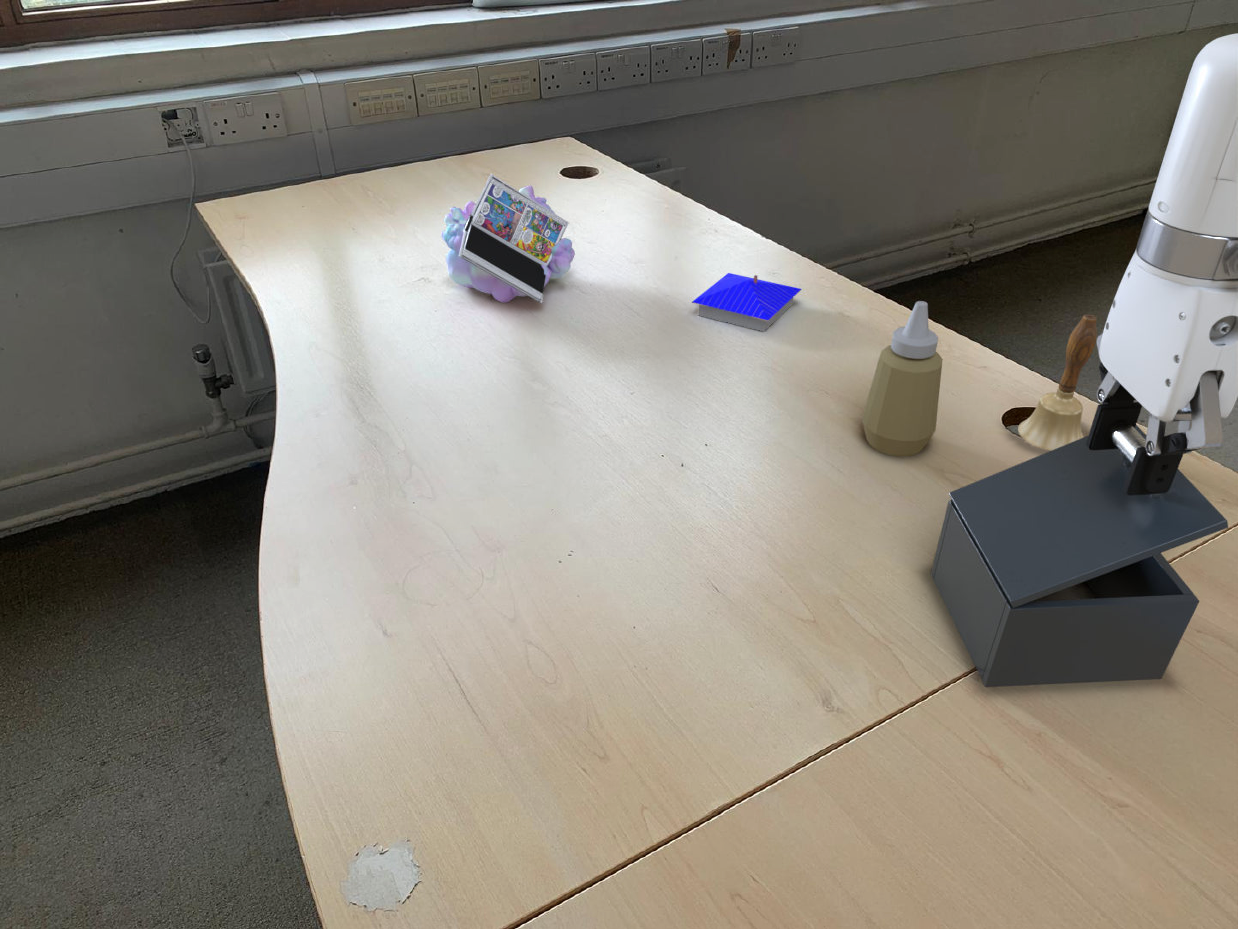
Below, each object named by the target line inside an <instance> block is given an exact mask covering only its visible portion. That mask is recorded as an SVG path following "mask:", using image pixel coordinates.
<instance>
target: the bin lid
mask: <svg viewBox="0 0 1238 929" xmlns="http://www.w3.org/2000/svg"><path fill="white" fill-rule="evenodd" d="M1107 436H1108V437H1109V438H1110V439H1111V441H1112V442H1113V443H1114V444H1115V445H1116V446H1117V447H1118V449H1108V450H1090V449H1089V448H1088V447H1087V446H1086V442H1087V438H1088V435H1086V436H1083V438H1081V439H1078V440H1076V441H1074V442H1071V443H1069V444H1066V445H1064V446H1061V447H1059V448H1057V449H1054V450H1052V451H1050V450H1048V451H1047V452H1045V453H1042V454H1039V455H1037V456H1035V457H1032V458H1030V459H1027V460H1026V461H1022V462H1020V463H1017V464H1016V465H1013V466H1010V467H1008V468H1006V469H1003V470H1001V471H998V472H996V473H993V474H991V475H989V476H986V477H984V478H981V479H979V480H975V481H974V482H971V483H969V484H966V485H964V486H962V487H959V488H957V489H955V490H952V491H950V492H948V495H949V498H950V500H952V501H953V503H954V505H955V507H956V508H957V510H958V512H959V514H960V515H961V517H962V519H963V521H964V523H965V524H966V526H967V528H968V530H969V531H970V533H971V535H972V537H973V538H974V540H975V542H976V544H977V545H978V547H979V549H980V551H981V552H982V554H983V556H984V558H985V559H986V561H987V563H988V565H989V567H990V568H991V570H992V572H993V574H994V575H995V577H996V579H997V581H998V582H999V584H1000V586H1001V588H1002V589H1003V591H1004V593H1005V595H1006V596H1007V598H1008V600H1009V602H1010V603H1011V605H1012V607H1013V608H1015V607H1017V606H1020V605H1023V604H1025V603H1028V602H1031V601H1037V600H1038V599H1042V598H1044V597H1047V596H1049V595H1052V594H1054V593H1055V594H1056V593H1058V592H1060V591H1063V590H1065V589H1068V588H1071V587H1072V586H1076V585H1080V584H1081V583H1084V582H1085V581H1087V580H1090V579H1092V578H1095V577H1098V576H1100V575H1103V574H1106V573H1108V572H1111V571H1114V570H1116V569H1119V568H1122V567H1124V566H1127V565H1130V564H1132V563H1135V562H1138V561H1140V560H1143V559H1146V558H1149V557H1151V556H1154V555H1157V554H1159V553H1161V554H1162V553H1165V552H1167V551H1169V550H1172V549H1173V550H1174V549H1175V548H1178V547H1180V546H1183V545H1186V544H1189V543H1191V542H1194V541H1197V540H1199V539H1202V538H1205V537H1208V536H1210V535H1213V534H1215V533H1218V532H1221V531H1224V530H1226V529H1229V523H1228V519H1226V518H1225V516H1224V515H1223V514H1222V513H1221V512H1220V511H1219V510H1218V509H1217V508H1216V507H1215V505H1213V504H1212V502H1210V501H1209V500H1208V498H1206V496H1205V495H1204V494H1203V493H1202V492H1201V491H1200V490H1199V489H1198V488H1197V486H1195V485H1194V484H1193V483H1192V482H1191V481H1190V480H1189V478H1187V476H1186V475H1185V474H1184V473H1183V472H1182V471H1181V470H1180V469H1179V468H1178V469H1177V472H1176V474H1175V477H1174V479H1173V482H1172V484H1171V487H1170V489H1169V491H1168V492H1166V493H1162V494H1146V495H1131V496H1130V495H1128V494H1127V493H1126V492H1125V491H1124V489H1123V488H1124V484H1125V481H1126V478H1127V475H1128V473H1129V470H1130V467H1131V464H1132V461H1133V459H1134V456H1135V453H1136V450H1137V448H1140V447H1145V443H1146V436H1147V433H1145V432H1144V431H1143V430H1142V429H1141V428H1140V427H1139V426H1138V425H1137V424H1136V426H1135V428H1134V427H1133V426H1132V425H1131V424H1130V423H1129V422H1128V421H1126V420H1119V421H1116V422H1114V423H1113V424H1111V425H1110V426H1109V428H1108V430H1107Z"/></svg>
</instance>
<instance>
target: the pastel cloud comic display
mask: <svg viewBox="0 0 1238 929" xmlns="http://www.w3.org/2000/svg"><path fill="white" fill-rule="evenodd" d="M449 210H450V213H447V214H445V216H444V219H443V220H444V221H443V222H444V224H445V225H446V226H447V227H446V229H445V230H442V231H441V233H440V237H441V239H442V240H443V241H444V242H445V244H446V245H447V247H448V248H449V249H450V250H448V252H447V253H446V255H445V261H446V266H447V274H448V276H449V277H450V279H451V280H452V281H453V282H454V283H455V284H456V285H459V286H461V287H465V288H470V289H472V288H473V289H475V290H477V291H478V292H481V293H484V294H488V295H492V297H493V299H495V300H496V301H498V302H500V303H503V304H504V303H509V302H510V301H512V300H513V299H515V297H517V296H518V297H529V298H531V299H533V300H535V301H536V302H538V303H540V304H543V300H544V299H543V298H544V290H545V287H546V286H547V284H548V283H549V281H550V279H555V278H562V277H563V276H565V274H566V273H567V272H569V271H570V269H571V266H572V265H571V263H572V262H573V260H574V258H575V255H576V253H575V252H576V251H575V250H574V248H573V241H572V240H571V239H570V238H567V237H563V236H564V234H565V232H566V230H567V228H568V226H569V224H570V222H569V221H567V220H566V219H564V218H562V217H561V216H560V215H557V214H556V213H555V211H554V210H553V209H552V208H551V207H550V205H549V204H548V203H547V198H545V197H543V196H542V197H540V196H535V191H534V187H533V185H527V186H523V187H521V188H520V189H519V190H518V189H516V188H514V187H513V186H511V185H509V184H508V183H507V182H505V181H503V180H501V179H500V178H498V177H497V176H496V175H493V174H492V173H490V175H489V176H488V179H487V181H486V182H485V185H484V187H483V189H482V191H481V192H480V195H479V197H478V199H477V201H476V203H475V202H474V201H473V200H469V201H468V202H467V203H466V204H465V207H464V209H462V208H461V207H456V206H452V207H450V208H449Z"/></svg>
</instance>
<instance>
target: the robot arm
mask: <svg viewBox="0 0 1238 929" xmlns="http://www.w3.org/2000/svg"><path fill="white" fill-rule="evenodd" d="M1187 77H1188V78H1187V81H1186V84H1185V88H1184V90H1183V93H1182V97H1181V101H1180V104H1179V107H1178V110H1177V112H1176V113H1177V114H1176V117H1175V120H1174V123H1173V127H1172V130H1171V133H1170V137H1169V140H1168V143H1167V146H1166V149H1165V152H1164V155H1163V160H1162V163H1161V166H1160V169H1159V172H1158V176H1157V177H1156V178H1157V179H1156V182H1155V185H1154V188H1153V192H1152V195H1151V198H1150V201H1149V204H1148V208H1147V212H1146V215H1145V218H1144V220H1143V224H1142V228H1141V231H1140V234H1139V238H1138V241H1137V244H1136V248H1135V251H1134V253H1133V255H1132V257H1131V259H1130V260H1129V262H1128V265H1127V267H1126V270H1125V272H1124V274H1123V276H1122V279H1121V281H1120V283H1119V285H1118V288H1117V291H1116V293H1115V296H1114V298H1113V301H1112V304H1111V307H1110V309H1109V312H1108V315H1107V318H1106V321H1105V324H1104V328H1103V331H1102V333H1100V334H1099V335H1098V336H1097V337H1096V347H1097V353H1098V357H1099V362H1100V363H1099V366H1098V371H1099V376H1100V381H1101V383H1100V385H1099V386H1098V388H1097V390H1096V399H1097V401H1098V402H1099V403H1101V404H1097V406H1096V410H1095V414H1094V416H1093V419H1092V423H1091V427H1090V429H1089V433H1088V435H1087V436H1088V438H1087V442H1086V446H1087V447H1088V448H1089V449H1090V450H1108V449H1118V447H1117V446H1116V445H1115V444H1114V443H1113V442H1112V441H1111V439H1110V438H1109V437H1108V436H1107V430H1108V428H1109V426H1110V425H1111V424H1113V423H1114V422H1116V421H1119V420H1126V421H1128V422H1129V423H1130V424H1131V425H1132V426H1133V427H1134V428H1135V426H1136V425H1137V423H1138V421H1139V417H1140V414H1141V412H1142V408H1144V409H1145V410H1146V411H1148V412H1149V414H1148V423H1147V430H1146V435H1147V436H1146V443H1145V447H1140V448H1137V450H1136V453H1135V456H1134V459H1133V461H1132V464H1131V467H1130V470H1129V473H1128V475H1127V478H1126V481H1125V484H1124V488H1123V489H1124V491H1125V492H1126V493H1127V494H1128V495H1130V496H1131V495H1146V494H1162V493H1166V492H1168V491H1169V489H1170V487H1171V484H1172V482H1173V479H1174V477H1175V474H1176V472H1177V469H1179V466H1180V464H1181V462H1182V459H1183V456H1184V455H1187V454H1189V455H1190V454H1191V453H1192V452H1194V451H1198V450H1201V449H1208V448H1217V447H1221V446H1222V445H1223V443H1224V431H1223V421H1222V419H1223V420H1224V419H1227V418H1228V417H1229V415H1230V414H1231V413H1232V410H1233V409H1234V407H1235V405H1236V403H1237V399H1238V33H1232V34H1227V35H1224V36H1220V37H1217V38H1214V39H1213V40H1211V41H1210V42H1209V43H1207V44H1205V46H1204V47H1202V49H1201V50H1200V51H1199V53H1198V54H1197V55H1196V57H1195V58H1194V61H1193V63H1192V67H1191V68H1190V71H1189V74H1188V76H1187ZM1174 422H1178V424H1177V432H1174V433H1170V434H1167V435H1165V434H1166V427H1167V423H1174Z"/></svg>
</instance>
